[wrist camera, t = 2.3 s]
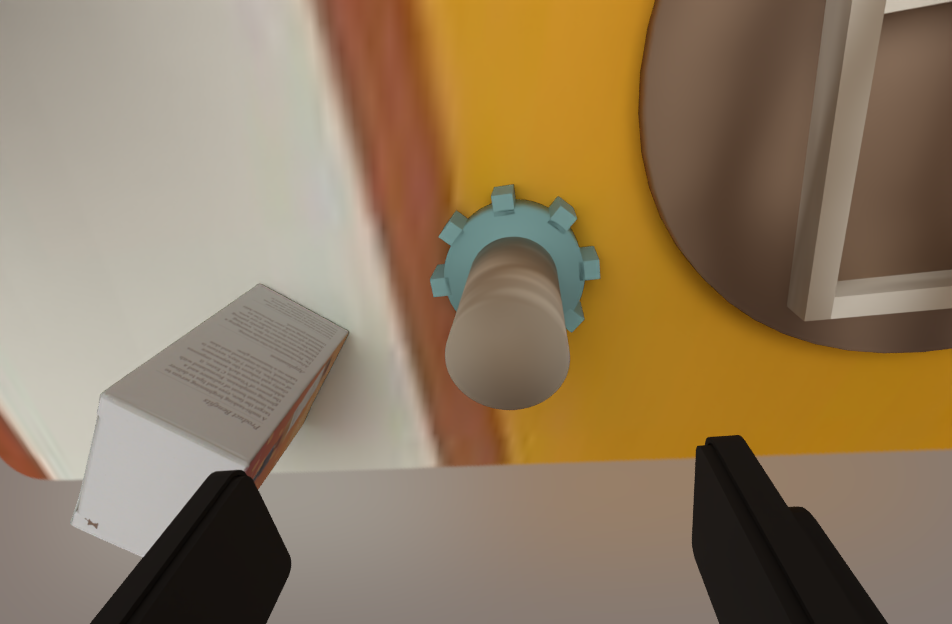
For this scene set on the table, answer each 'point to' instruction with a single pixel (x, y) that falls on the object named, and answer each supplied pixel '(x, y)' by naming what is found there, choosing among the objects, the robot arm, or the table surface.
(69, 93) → the table surface
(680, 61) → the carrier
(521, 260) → the gear
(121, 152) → the table surface
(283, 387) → the small box
